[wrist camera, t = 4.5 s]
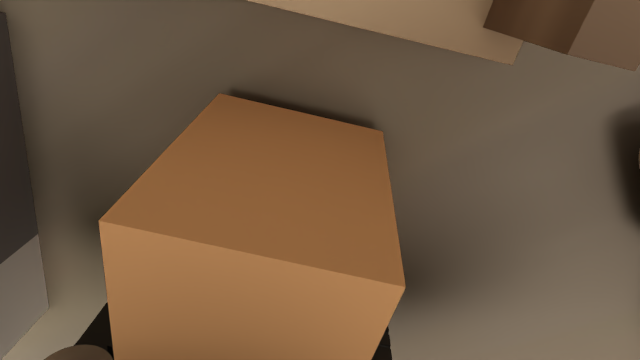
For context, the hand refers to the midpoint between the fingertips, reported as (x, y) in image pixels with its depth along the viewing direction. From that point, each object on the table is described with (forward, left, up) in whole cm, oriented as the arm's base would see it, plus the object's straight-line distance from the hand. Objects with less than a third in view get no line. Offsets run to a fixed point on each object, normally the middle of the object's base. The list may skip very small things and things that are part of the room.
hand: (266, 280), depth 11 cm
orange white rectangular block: (0, 0, 0) cm, 0 cm away
